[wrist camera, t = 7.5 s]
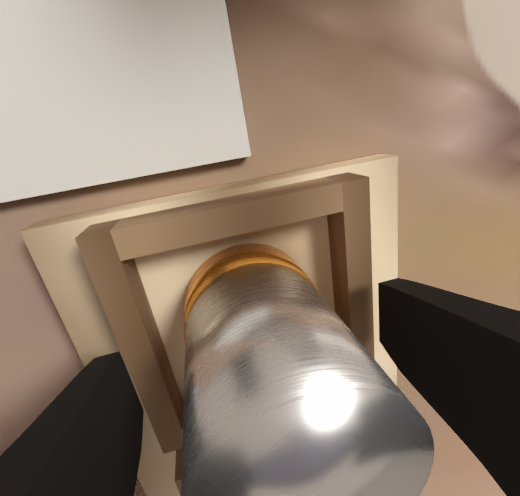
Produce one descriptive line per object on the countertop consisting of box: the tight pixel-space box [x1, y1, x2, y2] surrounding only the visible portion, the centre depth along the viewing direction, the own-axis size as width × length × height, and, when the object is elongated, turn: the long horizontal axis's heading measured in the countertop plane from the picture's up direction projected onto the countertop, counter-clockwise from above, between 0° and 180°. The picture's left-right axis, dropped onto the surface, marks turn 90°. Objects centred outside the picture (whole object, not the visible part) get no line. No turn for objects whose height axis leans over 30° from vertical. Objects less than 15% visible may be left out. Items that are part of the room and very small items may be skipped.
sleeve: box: [181, 243, 434, 496], centre depth 7 cm, size 4×4×6 cm
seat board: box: [20, 154, 398, 496], centre depth 12 cm, size 11×17×2 cm, turn 9°
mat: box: [0, 0, 251, 203], centre depth 8 cm, size 8×6×1 cm
